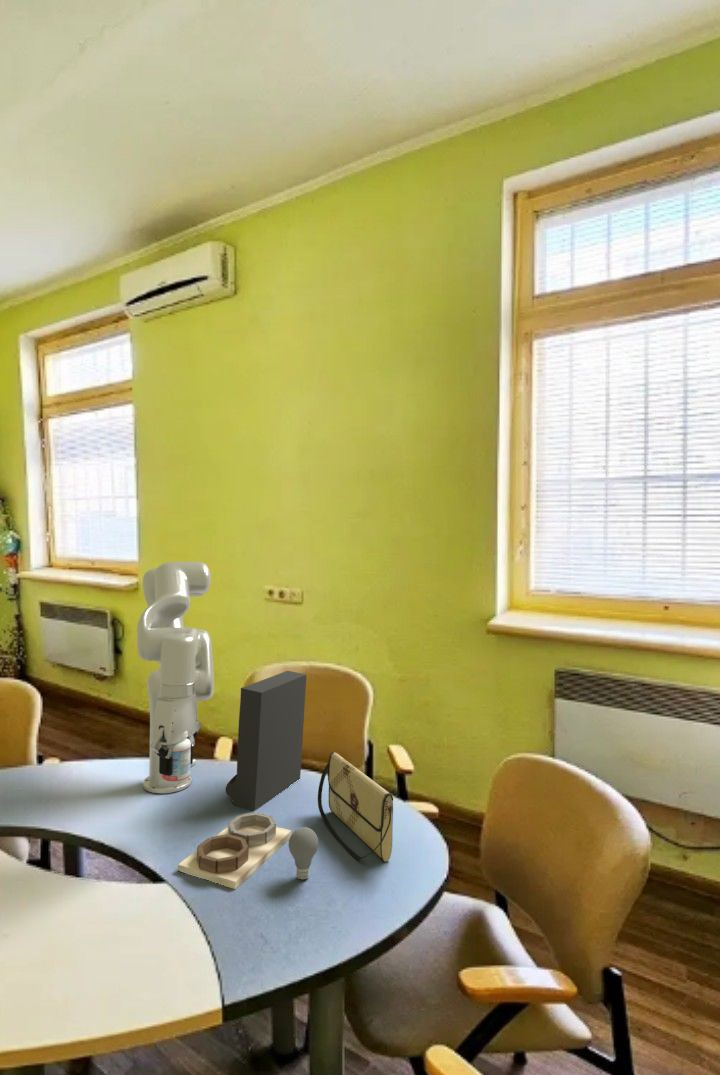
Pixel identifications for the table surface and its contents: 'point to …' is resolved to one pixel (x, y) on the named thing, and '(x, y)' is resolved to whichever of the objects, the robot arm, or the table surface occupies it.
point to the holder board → (236, 850)
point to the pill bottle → (180, 761)
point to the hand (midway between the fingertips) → (176, 767)
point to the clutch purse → (358, 806)
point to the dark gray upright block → (268, 739)
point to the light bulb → (303, 849)
